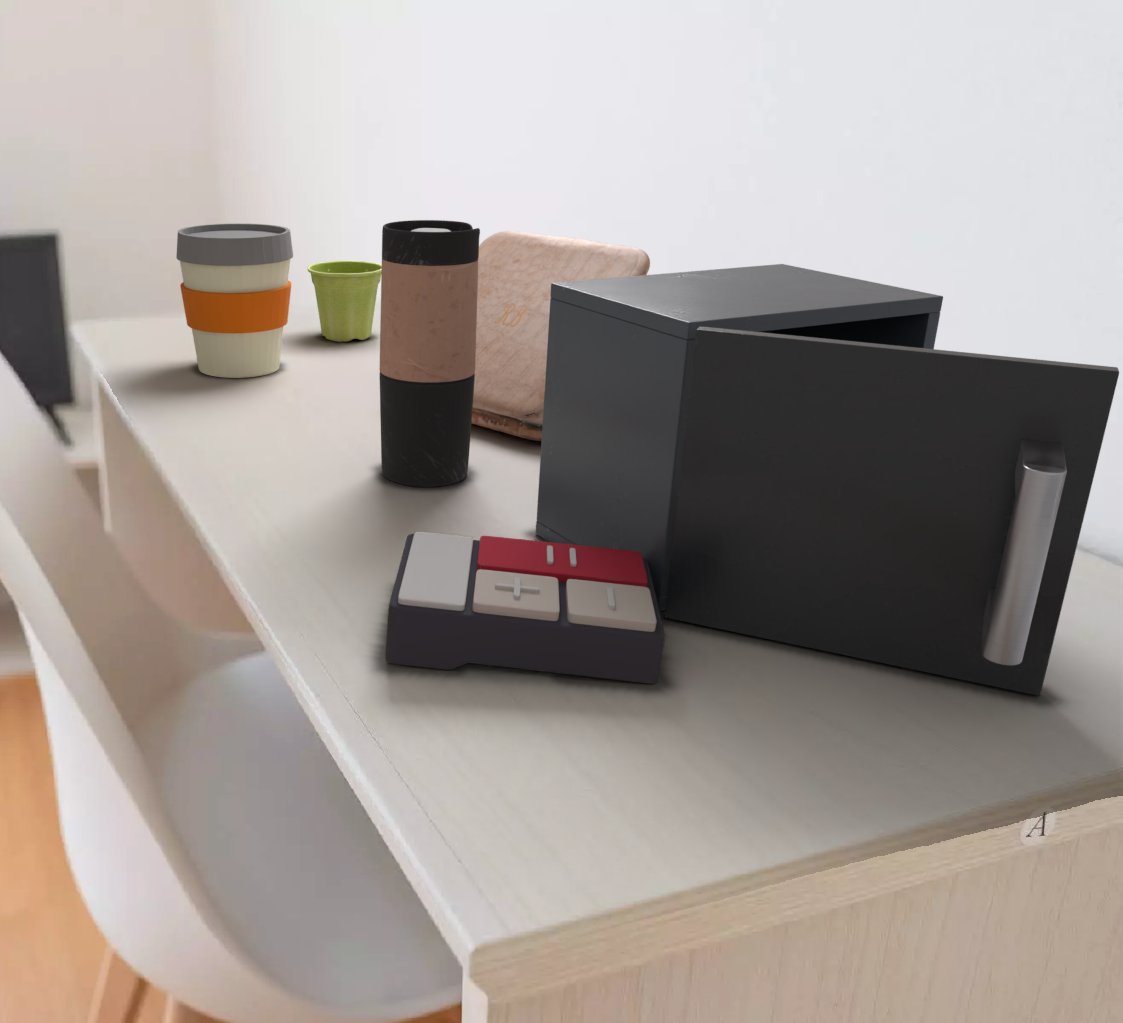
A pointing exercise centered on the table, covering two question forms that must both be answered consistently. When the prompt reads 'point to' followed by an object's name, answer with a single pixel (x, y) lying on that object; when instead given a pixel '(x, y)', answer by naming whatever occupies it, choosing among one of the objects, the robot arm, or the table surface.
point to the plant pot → (346, 297)
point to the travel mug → (427, 350)
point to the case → (528, 318)
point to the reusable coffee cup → (236, 295)
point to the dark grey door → (885, 499)
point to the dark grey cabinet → (672, 384)
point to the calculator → (524, 607)
